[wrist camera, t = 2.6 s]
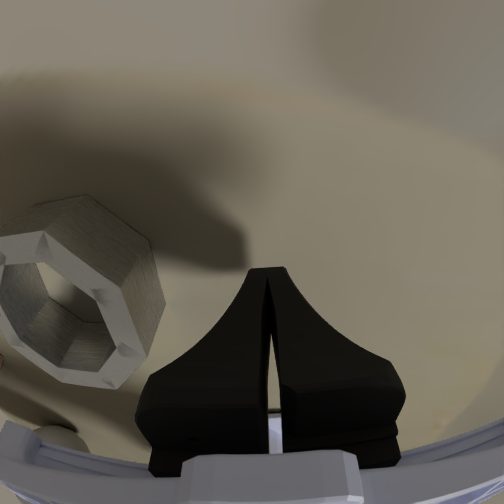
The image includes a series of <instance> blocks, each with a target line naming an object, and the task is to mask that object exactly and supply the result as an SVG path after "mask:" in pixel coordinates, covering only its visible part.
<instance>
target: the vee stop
mask: <svg viewBox="0 0 504 504" xmlns="http://www.w3.org/2000/svg"><path fill="white" fill-rule="evenodd" d="M2 362H3V356H2V355H0V369H1V368H2Z"/></svg>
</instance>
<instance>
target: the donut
mask: <svg viewBox="0 0 504 504" xmlns="http://www.w3.org/2000/svg"><path fill="white" fill-rule="evenodd" d="M33 431H34V432H35V433H36V434H37V435H38V436H39V437H40V439H41V440H42V441H45V442H49V443H52V444H55V445H59V446H62V447H66V448H70V449H73V450H77V451H81V452H85V453H90V451H89V449H88V447H87V445H86V443H85V442H84V441H83V440H82V439H81V438H80V437H79V436H78V435H77V434H76V433H75V432H73V431H72V430H69V429H67V428H64V427H61V426H44V427H41V428H38V429H35V430H33ZM90 454H91V453H90ZM15 495H16V496H17V497H18V499H19V500H20V502H21V503H22V504H32V503H30V502H28V501H26V500H24V499H23V498H21V497H20V496H18V495H17V494H15Z"/></svg>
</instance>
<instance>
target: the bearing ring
mask: <svg viewBox="0 0 504 504" xmlns="http://www.w3.org/2000/svg"><path fill="white" fill-rule="evenodd" d="M37 262H45V263H46V264H48V265H49V266H50V267H52V268H53V269H54V270H55V271H57V272H58V273H59V274H61V275H62V276H63V277H65V278H66V279H67V280H68V281H70V282H71V283H72V284H74V285H75V286H77V287H78V288H79V289H81V290H82V291H83V292H85V293H86V294H88V295H89V296H90V297H92V298H93V299H95V300H96V302H97V305H98V307H99V309H100V312H101V314H102V316H103V319H104V321H105V323H84V322H82V321H81V320H80V319H78V318H77V317H75V316H74V315H73V314H71V313H70V312H68V311H67V310H66V309H64V308H63V307H61V306H60V305H59V304H57V303H56V302H55V301H53V300H52V299H51V298H50V297H49V295H48V292H47V290H46V288H45V286H44V283H43V281H42V279H41V276H40V274H39V271H38V269H37V267H36V264H35V263H37ZM165 305H166V303H165V300H164V296H163V293H162V289H161V286H160V282H159V278H158V275H157V271H156V267H155V263H154V260H153V256H152V252H151V248H150V244H149V241H148V240H147V239H146V238H144V237H143V236H142V235H140V234H139V233H137V232H136V231H135V230H133V229H132V228H131V227H129V226H128V225H127V224H125V223H124V222H122V221H121V220H120V219H118V218H117V217H116V216H114V215H113V214H112V213H110V212H109V211H108V210H106V209H105V208H104V207H102V206H101V205H100V204H98V203H97V202H96V201H95V200H93V199H92V198H91V197H89V196H88V195H84V196H78V197H73V198H67V199H62V200H57V201H52V202H47V203H42V204H37V205H32V206H31V207H29V208H28V209H26V210H25V211H24V212H22V213H21V214H19V215H18V216H17V217H15V218H14V219H13V220H11V221H10V222H9V223H7V224H6V225H5V226H3V227H2V228H1V229H0V330H1V332H2V333H3V335H4V337H5V338H6V340H7V342H8V343H9V345H10V346H11V347H13V348H14V349H15V350H17V351H18V352H19V353H20V354H22V355H23V356H24V357H26V358H27V359H29V360H30V361H31V362H33V363H34V364H35V365H37V366H38V367H40V368H41V369H42V370H44V371H45V372H47V373H48V374H50V375H51V376H53V377H54V378H56V379H57V380H59V381H60V382H62V383H68V384H75V385H82V386H89V387H97V388H105V389H114V390H117V389H118V388H119V387H120V386H121V384H122V383H123V382H124V381H125V380H126V379H127V378H128V377H129V376H130V375H131V374H132V373H133V372H134V371H135V370H136V369H137V368H138V367H139V366H140V365H141V364H142V363H143V362H144V361H145V359H146V358H147V357H148V354H149V351H150V348H151V345H152V342H153V339H154V336H155V333H156V331H157V328H158V325H159V322H160V319H161V317H162V314H163V311H164V308H165Z"/></svg>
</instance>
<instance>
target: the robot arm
mask: <svg viewBox="0 0 504 504" xmlns="http://www.w3.org/2000/svg"><path fill="white" fill-rule="evenodd" d="M271 335H272V341H273V347H274V353H275V360H276V366H277V372H278V379H279V388H280V407H281V413H277V414H268V369H269V355H270V341H271ZM405 399H406V394H405V390H404V387H403V384H402V382H401V379H400V378H399V376H398V374H397V372H396V370H395V369H394V367H393V365H392V363H391V362H390V361H388V360H386V359H384V358H382V357H380V356H378V355H375V354H373V353H371V352H369V351H367V350H365V349H364V348H362V347H360V346H358V345H357V344H355V343H353V342H352V341H350V340H349V339H348V338H346V337H345V336H343V335H342V334H341V333H339V332H338V331H337V330H335V329H334V328H333V327H332V326H331V325H329V324H328V323H327V322H326V321H325V320H324V319H323V318H322V317H321V316H320V315H319V314H318V313H317V312H316V311H315V310H314V309H313V308H312V306H311V305H310V304H309V303H308V302H307V301H306V299H305V298H304V297H303V295H302V294H301V293H300V291H299V290H298V289H297V287H296V286H295V284H294V283H293V281H292V279H291V278H290V276H289V274H288V272H287V270H286V268H284V267H268V268H252V269H250V270H249V271H248V273H247V276H246V278H245V280H244V283H243V284H242V286H241V288H240V290H239V292H238V293H237V295H236V297H235V299H234V300H233V302H232V303H231V305H230V306H229V307H228V309H227V310H226V312H225V313H224V315H223V316H222V317H221V318H220V320H219V321H218V322H217V323H216V324H215V326H214V327H213V328H212V329H211V330H210V331H209V332H208V333H207V334H206V335H205V336H204V337H203V338H202V339H201V340H200V341H199V342H198V343H197V344H196V345H194V346H193V347H192V348H191V349H190V350H188V351H187V352H186V353H184V354H183V355H182V356H180V357H179V358H177V359H176V360H175V361H173V362H171V363H170V364H168V365H166V366H165V367H163V368H161V369H160V370H158V371H156V372H155V373H153V374H151V375H150V376H149V378H148V380H147V382H146V384H145V386H144V389H143V391H142V393H141V396H140V400H139V403H138V406H137V410H136V413H135V422H136V424H137V426H138V428H139V429H140V431H141V432H142V434H143V435H144V436H145V438H146V439H147V441H148V442H149V443H150V445H151V446H152V447H153V448H152V452H151V457H150V462H149V464H143V463H136V462H130V461H124V460H118V459H113V458H108V457H103V456H98V455H94V454H90V453H85V452H81V451H77V450H73V449H70V448H66V447H62V446H59V445H55V444H52V443H49V442H45V441H42V440H41V439H40V437H39V436H38V435H37V434H36V433H35V432H34V431H33V430H31V429H30V428H28V427H26V426H23V425H20V424H17V423H15V422H12V421H9V420H7V421H6V422H5V424H4V426H3V428H2V430H1V432H0V483H1V484H2V485H3V486H5V487H6V488H8V489H9V490H11V491H12V492H14V493H15V494H17V495H18V496H20V497H21V498H23V499H24V500H26V501H28V502H30V503H32V504H479V503H480V502H483V501H485V500H487V499H488V498H490V497H492V496H494V495H496V494H498V493H500V492H501V491H503V490H504V418H502V419H499V420H497V421H495V422H492V423H490V424H487V425H485V426H482V427H480V428H477V429H474V430H472V431H469V432H466V433H463V434H460V435H458V436H455V437H452V438H449V439H446V440H443V441H440V442H436V443H433V444H429V445H426V446H422V447H418V448H415V449H411V450H407V451H403V452H400V450H399V446H398V442H397V439H396V436H397V434H398V429H397V425H396V422H395V421H396V419H397V417H398V415H399V413H400V411H401V409H402V407H403V405H404V402H405Z"/></svg>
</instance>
